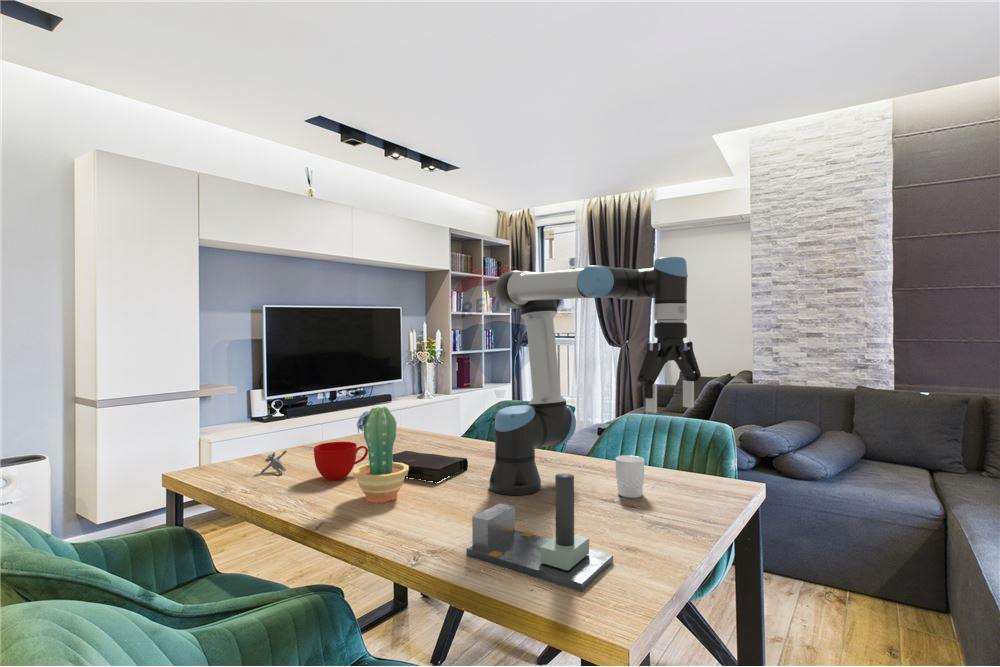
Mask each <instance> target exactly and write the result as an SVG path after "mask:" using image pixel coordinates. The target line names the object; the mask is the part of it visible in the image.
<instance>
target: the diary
mask: <svg viewBox="0 0 1000 667" xmlns="http://www.w3.org/2000/svg"><path fill="white" fill-rule="evenodd" d="M393 462H398V463H403V464H406V465H408V466H409V470H408V475H406V476H405V478H406V477H408V479H407V480H410V479H409V478H414V479H421V480H426V481H433V483H432V484H436V483H437V482H439V481H441V480H442V479H444V478H447V477H448V476H450V477H452V476H454V475H456V474H458V473H460V472H461V471H460V470H462V469H467V470H468V467H469V464H468V463H469V461H468V458H467V457H461V456H460V457H459V456H448V455H442V454H441V455H440V454H435V453H426V452H425V453H424V452H417V451H411V450H403V451H401V452H397V453H396V452H395V453H393ZM459 471H460V472H459ZM462 471H463V470H462ZM457 472H458V473H457ZM455 473H456V474H455ZM453 474H454V475H453ZM451 475H452V476H451ZM405 478H404V479H405ZM414 479H413V480H414ZM435 482H436V483H435Z"/></svg>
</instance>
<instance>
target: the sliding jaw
mask: <svg viewBox="0 0 1000 667" xmlns="http://www.w3.org/2000/svg"><path fill="white" fill-rule="evenodd" d="M554 477H555V478H554V480H555V485H554V486H555V496H554V497H555V499H554V500H555V536H554V537H552V538H550V539H551V540H549V541H548V542H546V543H545V544H543V545H542V546H540V563H544V564H547V565H551V566H554V567H557V568H561V569H564V570H569V569H571V568H572V567H573V566H574V565H575V564H577V563H578V562H579V561H580V560H582V559H583V558H584V557H585V556H586V555H588V554H589V549H590V538H589V537H585V536H581V535H577V534H575V475H573V474H571V473H566V472H564V473H563V472H562V473H556V474H555V476H554Z"/></svg>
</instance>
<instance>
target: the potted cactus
mask: <svg viewBox="0 0 1000 667" xmlns="http://www.w3.org/2000/svg"><path fill="white" fill-rule="evenodd" d="M356 428H357V434H360V431H361V432H363V438H364V440H365V443H366V446H367V449H368V454H367V455H368V462H369V463H364V464H361V465H358V466H356V467H353V470H352V474H353V478H355V479H356V481H357V484H358V485H359V488H360V490H361V491H362V492H363V494H364V495H365V499H364V500H365V501H367V502H368V501H369V503H375V502H376V503H378V502H380V503H388V502H392V501H394V500H396V499H397V497H399V495H398V492H399V491H400V490H401V488H402V486H403V484H404V481H405V476H406V475H408V470H409V466H408V465H406V464H403V463H398V462H393V454H394V444H395V442H396V441H395V440H396V437H397V420H396V418H395V416H394V415H393V413H392V412H391V410H390V409H389V408H388V407H387V406H383V407H381V406H376V407H372V408H371V409H370V410H367V411H364V412H362V414H361V415H360V416H359V418H358V420H357V422H356ZM395 498H396V499H395ZM391 500H392V501H391ZM387 501H388V502H387ZM376 503H375V504H376ZM378 504H379V503H378Z"/></svg>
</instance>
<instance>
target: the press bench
mask: <svg viewBox="0 0 1000 667" xmlns="http://www.w3.org/2000/svg"><path fill="white" fill-rule="evenodd" d="M471 520H472V521H471V522H472V523H471V526H472V527H471V528H472V529H471V530H472V531H471V532H472V539H471V540H472V545H471V546H469V547H467V548H466V549H465V550H466V551H465V552H466V557H468V558H471V559H475V560H479V561H481V562H484V563H487V562H488V564H490V563H491V564H492V565H494V566H498V567H501V568H504V569H506V568H507V570H511V571H513V572H517V573H520V574H523V575H525V576H529V577H533V578H536V579H537V580H541V579H542V581H545V582H549V583H551V584H554V585H557V586H562V587H564V588H568V589H571V590H574V591H577V592H580V593H583V592H584V591H585V590H586V589H587V588H588V587H589V586H591V584H593V582H594V581H595V580H597V579H598V577H600V576H601V575H602V574H603V573H604V572H605V571H606V570H607V569H609V567H610V566H611V565H612V564H614V555H613V554H610V553H606V552H603V551H599V550H596V549H591V548H589V554H588V555H586V556H585V557H584V558H583V559H582V560H580V561H579V562H578V563H577V564H575V565H574V566H573V567H572V568H571V569H569V570H564V569H561V568H557V567H554V566H551V565H547V564H544V563H540V546H542V545H543V544H545V543H546V542H548V541H549V540H551V539H552V538H548V537H544V536H540V535H537V534H534V532H533V533H532V532H529V531H521V530H517V529H516V507H515V506H513V505H509V504H505V503H498V504H495V505H493V506H492V507H489V508H487V509H485V510H483V511H481V512H479V513H477V514H475V515H473V516H471ZM491 564H490V565H491Z"/></svg>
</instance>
